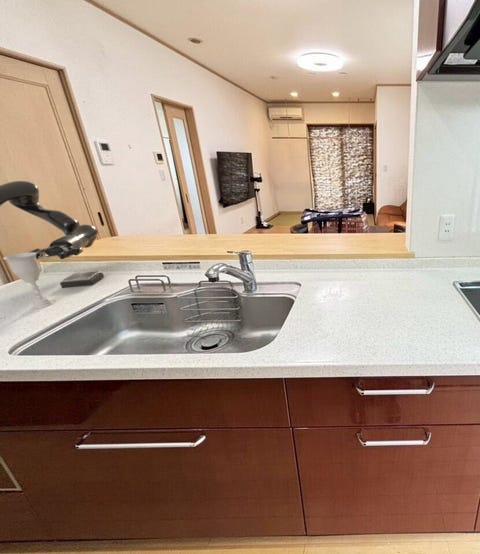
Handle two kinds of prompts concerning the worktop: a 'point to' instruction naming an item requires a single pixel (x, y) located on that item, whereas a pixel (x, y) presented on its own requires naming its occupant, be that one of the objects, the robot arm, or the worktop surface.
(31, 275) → the chalice
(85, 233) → the robot arm
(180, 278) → the worktop surface
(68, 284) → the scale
